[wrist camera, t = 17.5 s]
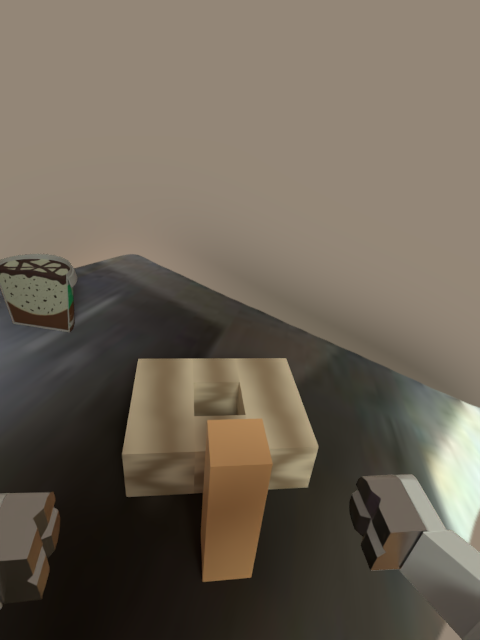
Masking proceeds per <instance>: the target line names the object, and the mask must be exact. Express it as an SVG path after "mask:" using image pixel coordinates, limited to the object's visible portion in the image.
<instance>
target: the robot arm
mask: <svg viewBox="0 0 480 640" xmlns="http://www.w3.org/2000/svg"><path fill="white" fill-rule="evenodd" d="M356 486H357V488H358V490H357V491H356V492H354V493H353V494H352V496H351V499H350V502H349V511H350V516H351V520H352V523H353V526H354V529H355V530H356V531H357V532H358V533H359V534H360V535H362V536H363V538H362V542H361V547H362V550H363V553H364V555H365V558H366V560H367V563H368V566H369V568H370V571H374V570H391V569H400V572H401V573H402V574H403V575H404V576H405V577H406V578H407V579H408V581H409V582H410V583H411V584H412V585H413V586H414V587H415V588H416V589H417V590H418V592H419V593H420V594H421V595H422V596H423V597H424V598H425V599H426V600H427V601H428V602H429V604H430V605H431V606H432V607H433V608H434V609H435V610H436V611H437V612H438V613H439V615H440V616H441V617H442V618H443V619H444V620H445V621H446V622H447V623H448V624H449V626H450V627H451V628H452V629H453V630H454V631H455V632H456V633H457V634H458V635H459V636H460V638H461V639H462V640H480V552H479V551H478V550H476V549H475V548H474V547H472V546H471V545H470V544H469V543H467V542H466V541H465V540H464V539H462V538H461V537H460V536H459V535H457V534H456V533H455V532H454V531H452V530H446V528H445V527H444V525H443V523H442V521H441V520H440V518H439V516H438V515H437V513H436V511H435V509H434V508H433V506H432V504H431V503H430V501H429V499H428V498H427V496H426V494H425V492H424V491H423V489H422V487H421V486H420V484H419V482H418V480H417V479H416V478H415V477H414V476H413V475H411V474H403V475H379V476H364V477H360V478H359V479H358V481H357V483H356ZM55 500H56V499H55V496H54V492H30V493H0V609H1V608H2V607H3V605H2V604H6V603H15V602H24V601H32V600H41V599H42V596H43V593H44V589H45V585H46V582H47V578H48V574H49V571H50V567H49V564H48V561H47V558H48V557H49V556H50V555H51V554H52V553H53V552H54V550H55V548H56V544H57V541H58V536H59V528H60V515H59V511H58V510H57V509H56V508H54V504H55Z"/></svg>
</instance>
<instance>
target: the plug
mask: <svg viewBox="0 0 480 640" xmlns="http://www.w3.org/2000/svg"><path fill="white" fill-rule="evenodd" d="M272 466H273V463H272V458H271V454H270V450H269V445H268V441H267V437H266V433H265V428H264V424H263V420H262V418H261V419H225V420H207V433H206V450H205V468H204V485H203V503H202V520H201V554H202V581H203V582H208V581H219V580H230V579H241V578H251V576H252V571H253V566H254V560H255V555H256V550H257V544H258V539H259V534H260V529H261V523H262V518H263V513H264V508H265V502H266V497H267V492H268V487H269V481H270V476H271V471H272Z"/></svg>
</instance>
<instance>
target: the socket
mask: <svg viewBox="0 0 480 640" xmlns="http://www.w3.org/2000/svg"><path fill="white" fill-rule="evenodd" d="M261 418H262V420H263V424H264V428H265V433H266V437H267V441H268V445H269V450H270V454H271V458H272V463H273V466H272V471H271V476H270V481H269V487H268V489H286V488H305V487H308V484H309V480H310V476H311V473H312V469H313V465H314V462H315V458H316V454H317V451H318V444H317V442H316V439H315V436H314V433H313V431H312V428H311V425H310V422H309V420H308V417H307V414H306V412H305V409H304V406H303V403H302V401H301V398H300V395H299V392H298V390H297V387H296V384H295V382H294V379H293V376H292V373H291V371H290V368H289V365H288V362H287V360H286V358H241V359H138V364H137V370H136V376H135V381H134V387H133V393H132V399H131V405H130V411H129V416H128V422H127V428H126V434H125V440H124V446H123V452H122V459H123V469H124V479H125V488H126V497H137V496H156V495H175V494H193V493H203V485H204V468H205V450H206V433H207V420H225V419H261Z"/></svg>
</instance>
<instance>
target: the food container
mask: <svg viewBox="0 0 480 640" xmlns="http://www.w3.org/2000/svg"><path fill="white" fill-rule="evenodd" d="M76 282H77V275H76V273H75V270H74V268H73V266H72V265H71V263H70V262H69V261H68V260H66V259H64V258H62V257H58V256H55V255H48V254H26V255H18V256H13V257H9V258H5V259H1V260H0V288H1V291H2V294H3V297H4V300H5V302H6V305H7V308H8V311H9V313H10V316H11V319H12V322H13V324H19V325H25V326H32V327H38V328H45V329H51V330H58V331H64V332H71V330H72V329H73V327H74V300H73V286H74V285H75V284H76Z"/></svg>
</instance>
